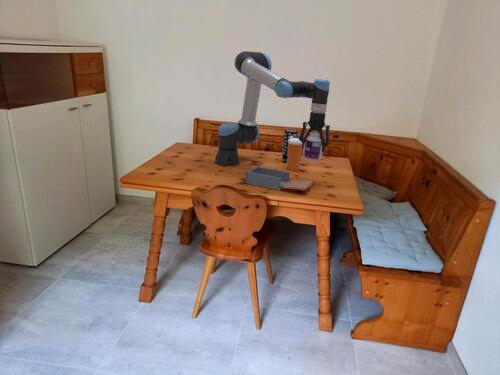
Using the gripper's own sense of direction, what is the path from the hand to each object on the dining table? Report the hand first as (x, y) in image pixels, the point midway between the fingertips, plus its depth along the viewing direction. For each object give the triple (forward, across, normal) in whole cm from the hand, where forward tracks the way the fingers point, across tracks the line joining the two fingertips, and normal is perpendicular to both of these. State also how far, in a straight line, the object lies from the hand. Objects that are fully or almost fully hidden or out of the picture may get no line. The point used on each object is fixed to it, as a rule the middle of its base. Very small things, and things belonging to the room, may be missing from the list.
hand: (312, 156), depth 180 cm
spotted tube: (+15, -24, +34) cm, 44 cm away
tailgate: (+13, -8, -14) cm, 20 cm away
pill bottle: (+2, 0, 0) cm, 2 cm away
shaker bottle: (+15, -16, +21) cm, 31 cm away
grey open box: (+15, -18, -14) cm, 27 cm away
